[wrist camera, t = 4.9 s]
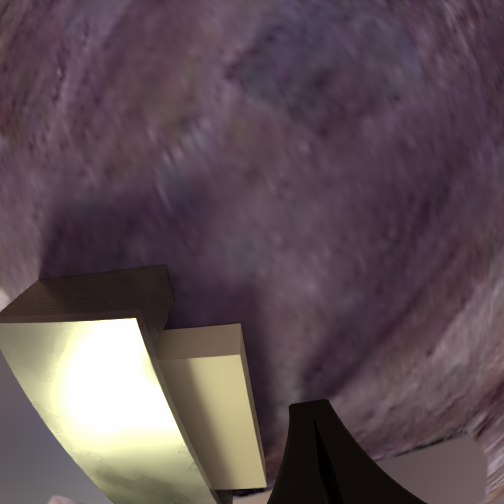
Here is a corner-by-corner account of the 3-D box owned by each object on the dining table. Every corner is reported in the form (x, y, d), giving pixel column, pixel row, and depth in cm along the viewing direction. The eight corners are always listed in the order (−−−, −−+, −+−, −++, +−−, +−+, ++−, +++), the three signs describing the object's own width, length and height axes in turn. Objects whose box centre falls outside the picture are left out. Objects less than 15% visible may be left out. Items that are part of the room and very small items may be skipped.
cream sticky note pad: (240, 323, 10) (240, 354, 8) (265, 460, 13) (266, 487, 11) (76, 333, 10) (57, 359, 8) (144, 460, 13) (138, 485, 11)
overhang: (166, 264, 9) (135, 318, 6) (232, 482, 13) (232, 529, 10) (37, 280, 9) (-12, 323, 6) (143, 479, 13) (134, 522, 11)
